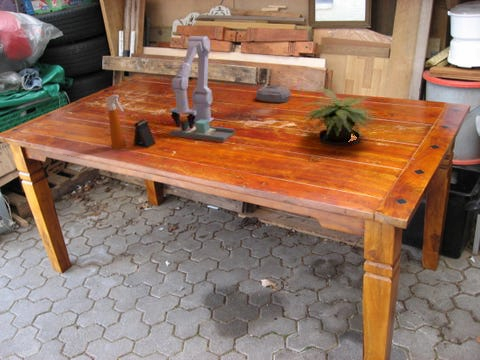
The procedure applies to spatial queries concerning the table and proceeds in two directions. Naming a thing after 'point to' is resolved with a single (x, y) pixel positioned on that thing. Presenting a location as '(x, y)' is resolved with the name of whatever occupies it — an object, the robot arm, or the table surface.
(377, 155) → the table surface
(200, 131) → the block
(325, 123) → the fern plant
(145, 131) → the phone stand
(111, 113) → the spray bottle
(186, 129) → the sliding plate with handle
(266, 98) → the soft grey pack
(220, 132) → the channel
